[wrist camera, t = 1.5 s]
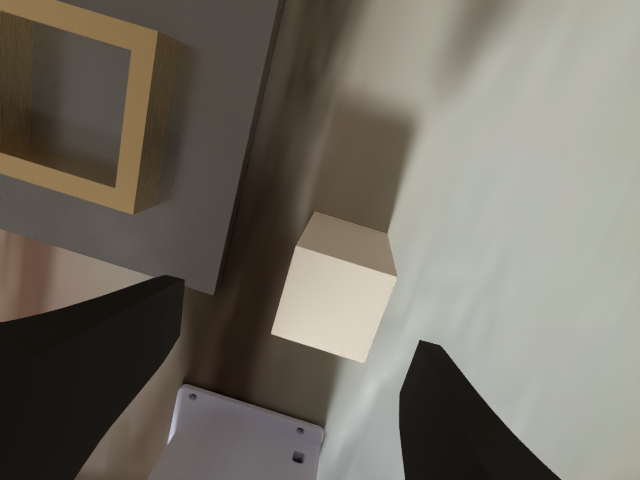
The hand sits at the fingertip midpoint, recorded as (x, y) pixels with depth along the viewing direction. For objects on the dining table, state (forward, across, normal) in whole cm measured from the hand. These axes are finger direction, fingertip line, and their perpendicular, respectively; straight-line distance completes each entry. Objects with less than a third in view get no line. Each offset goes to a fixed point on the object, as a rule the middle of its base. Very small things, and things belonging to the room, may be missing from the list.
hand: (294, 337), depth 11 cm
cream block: (+10, -1, +1) cm, 10 cm away
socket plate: (+10, +13, -4) cm, 16 cm away
